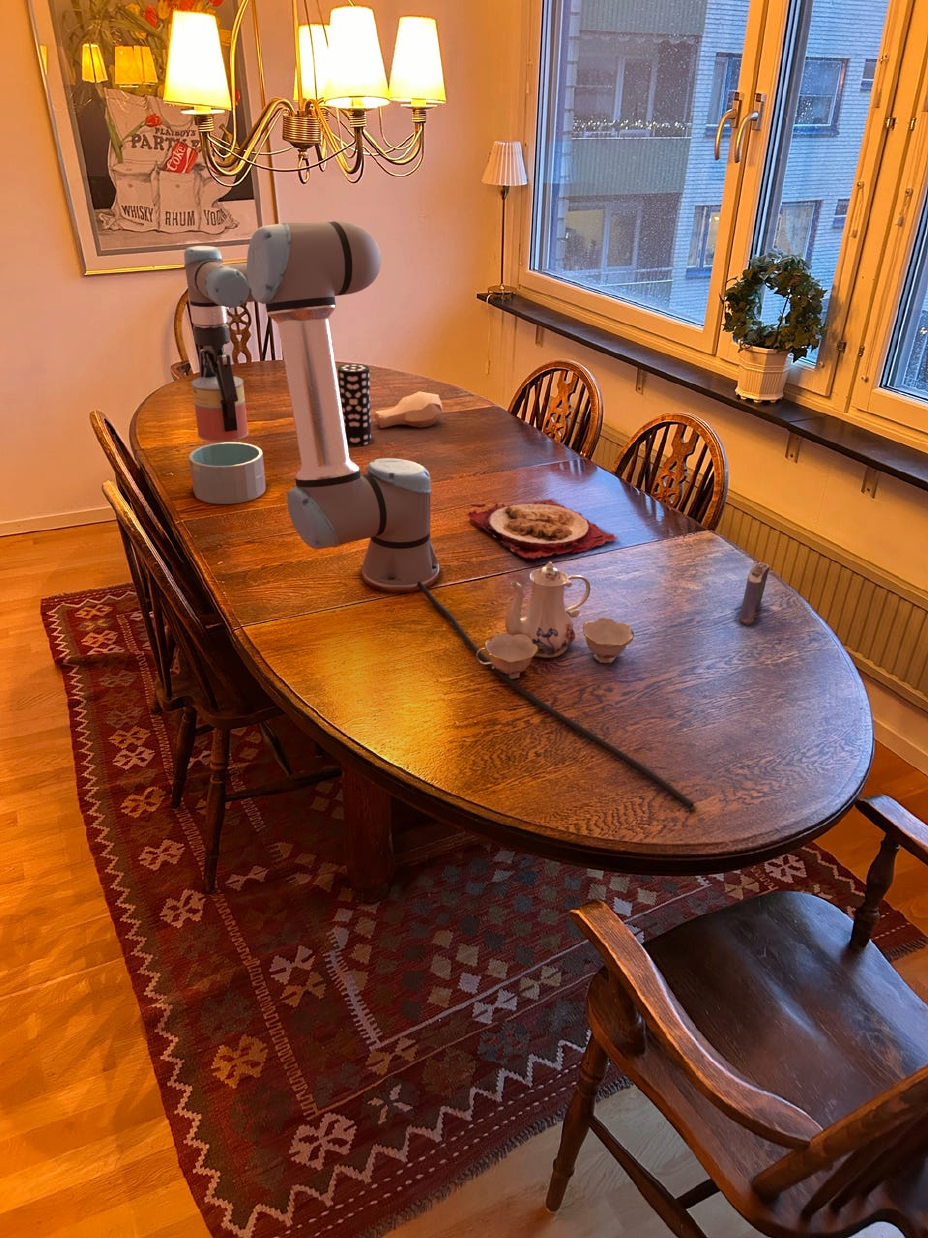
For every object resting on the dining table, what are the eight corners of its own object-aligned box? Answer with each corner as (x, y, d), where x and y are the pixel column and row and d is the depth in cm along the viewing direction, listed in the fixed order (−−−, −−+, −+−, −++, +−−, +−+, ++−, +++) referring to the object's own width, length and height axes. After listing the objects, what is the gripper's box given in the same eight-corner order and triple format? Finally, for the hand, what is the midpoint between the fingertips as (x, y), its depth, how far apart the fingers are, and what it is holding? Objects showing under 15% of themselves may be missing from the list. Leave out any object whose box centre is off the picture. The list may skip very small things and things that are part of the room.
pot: (276, 495, 206) (273, 459, 201) (207, 509, 198) (202, 471, 194) (250, 472, 218) (247, 438, 213) (184, 485, 210) (179, 449, 205)
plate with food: (528, 567, 178) (530, 552, 177) (464, 518, 197) (465, 504, 195) (618, 544, 189) (621, 530, 187) (549, 500, 208) (551, 486, 206)
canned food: (208, 424, 206) (201, 373, 200) (254, 427, 205) (249, 376, 199) (190, 440, 197) (183, 387, 190) (239, 443, 196) (234, 390, 190)
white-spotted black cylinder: (377, 441, 240) (375, 368, 230) (354, 448, 235) (351, 373, 225) (357, 433, 245) (355, 361, 235) (334, 440, 240) (331, 367, 230)
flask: (750, 626, 160) (762, 574, 154) (734, 622, 161) (745, 570, 155) (761, 605, 167) (773, 554, 161) (746, 601, 168) (757, 551, 162)
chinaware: (495, 704, 140) (505, 621, 130) (454, 643, 152) (461, 562, 142) (642, 668, 150) (662, 588, 140) (593, 614, 162) (608, 537, 152)
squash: (449, 427, 253) (448, 399, 247) (383, 442, 248) (380, 413, 242) (436, 410, 261) (435, 382, 255) (372, 424, 256) (369, 396, 250)
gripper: (246, 333, 182) (256, 435, 193) (209, 312, 199) (220, 406, 210) (211, 337, 178) (223, 440, 190) (176, 315, 195) (189, 411, 206)
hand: (222, 423), depth 200 cm, fingers closed on canned food, 11 cm apart
